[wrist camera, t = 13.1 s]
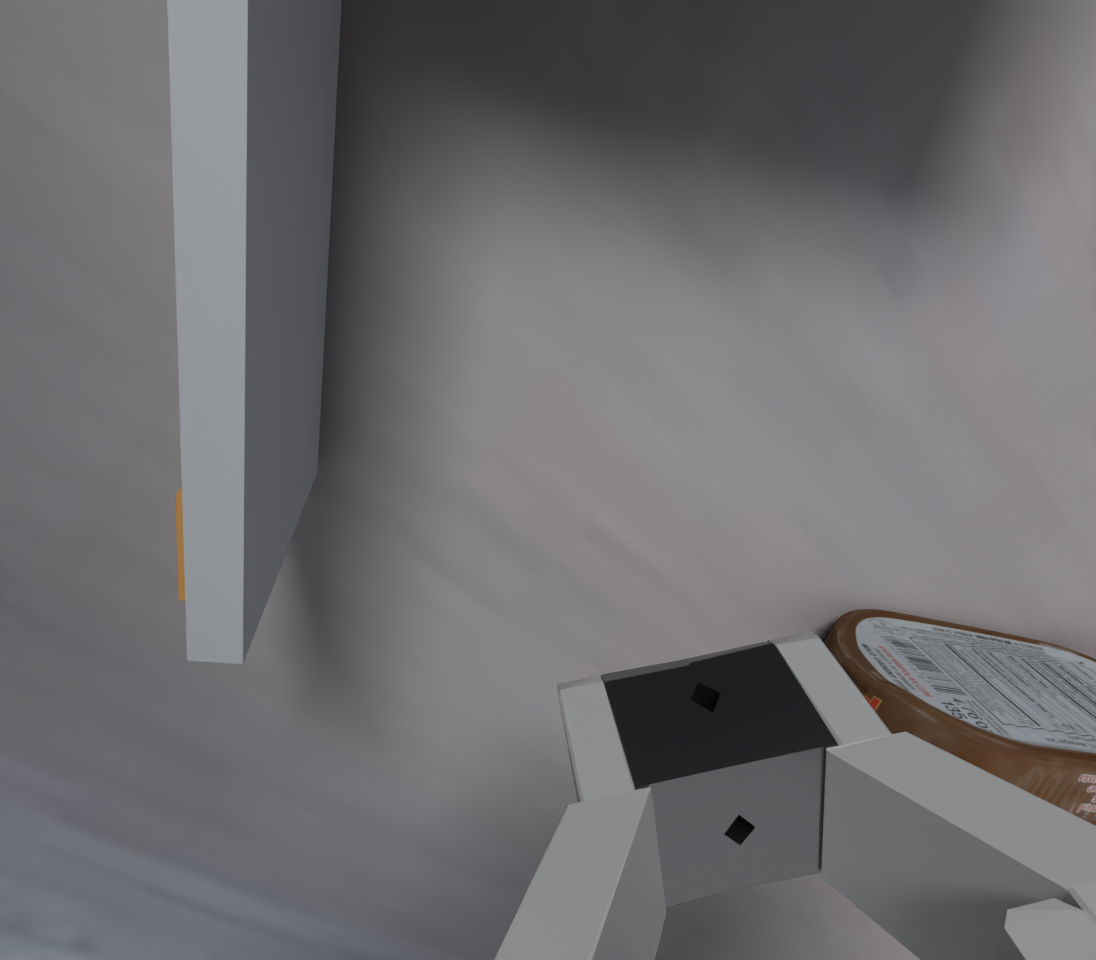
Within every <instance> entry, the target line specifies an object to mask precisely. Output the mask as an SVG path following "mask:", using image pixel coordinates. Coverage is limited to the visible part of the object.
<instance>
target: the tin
mask: <svg viewBox="0 0 1096 960" xmlns="http://www.w3.org/2000/svg"><path fill="white" fill-rule="evenodd" d="M824 644H825V646H826V647H827V648H828V650H829V651H830V652H831V653H832V655H833V656H834V657H835V659H836V660H837V661H838V663H839V664H840V665H841V667H842V668H843V669H844V671H845V672H846V673H847V675H848V676H849V677H850V679H851V680H852V681H853V683H854V684H855V685H856V687H857V688H858V689H859V691H860V692H861V693H862V695H863V696H864V697H865V699H866V700H867V701H868V703H869V704H870V705H871V707H872V708H873V709H874V711H875V712H876V713H877V715H878V716H879V717H880V719H881V720H882V721H883V723H884V724H885V725H886V727H887V728H888V729H889V731H890V732H891V733H892V734H896V733H901V732H908V733H910V734H912V735H914V736H916V737H918V738H920V739H922V740H924V741H926V742H928V743H930V744H932V745H934V746H936V747H938V748H940V749H942V750H944V751H946V752H948V753H950V754H952V755H954V756H956V757H958V758H960V759H962V760H964V761H966V762H968V763H970V764H972V765H974V766H976V767H978V768H980V769H982V770H984V771H986V772H988V773H990V774H992V775H994V776H996V777H998V778H1000V779H1002V780H1004V781H1007V782H1009V783H1011V784H1013V785H1015V786H1017V787H1019V788H1021V789H1023V790H1025V791H1027V792H1029V793H1031V794H1033V795H1035V796H1037V797H1039V798H1041V799H1043V800H1045V801H1047V802H1049V803H1051V804H1053V805H1055V806H1057V807H1059V808H1061V809H1063V810H1065V811H1067V812H1069V813H1071V814H1073V815H1075V816H1077V817H1079V818H1081V819H1083V820H1085V821H1087V822H1089V823H1091V824H1093V825H1095V826H1096V659H1094V658H1092V657H1089V656H1086V655H1084V654H1081V653H1078V652H1076V651H1073V650H1070V649H1067V648H1064V647H1061V646H1058V645H1054V644H1051V643H1047V642H1042V641H1038V640H1032V639H1028V638H1024V637H1019V636H1014V635H1008V634H1003V633H999V632H994V631H989V630H984V629H979V628H974V627H969V626H964V625H959V624H954V623H949V622H943V621H938V620H933V619H928V618H923V617H917V616H912V615H906V614H901V613H896V612H890V611H883V610H871V609H865V610H855V611H851V612H848V613H846V614H844V615H843V616H841V617H840V618H839V619H838V620H837V621H836V623H835V624H834V626H833V627H832V629H831V631H830V633H829V634H828V636H827V639H826V641H825V643H824Z"/></svg>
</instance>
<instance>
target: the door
mask: <svg viewBox="0 0 1096 960" xmlns="http://www.w3.org/2000/svg"><path fill="white" fill-rule="evenodd" d="M341 3H342V0H167V5H168V38H169V72H170V105H171V139H172V172H173V206H174V239H175V273H176V306H177V340H178V373H179V407H180V440H181V474H182V487H181V488H180V490H179V491H178V492H177V494H176V495H175V503H176V532H177V562H178V591H179V600H181V601H185V608H186V641H187V661H200V662H218V663H236V664H243V662H244V660H245V657H246V654H247V652H248V649H249V647H250V644H251V642H252V639H253V637H254V634H255V631H256V629H257V626H258V624H259V621H260V619H261V616H262V613H263V611H264V608H265V606H266V603H267V601H268V598H269V596H270V593H271V590H272V588H273V585H274V583H275V580H276V578H277V575H278V572H279V570H280V567H281V565H282V562H283V560H284V557H285V555H286V552H287V549H288V547H289V544H290V542H291V539H292V537H293V534H294V531H295V529H296V526H297V524H298V521H299V519H300V516H301V514H302V511H303V508H304V506H305V503H306V501H307V498H308V496H309V493H310V490H311V488H312V485H313V483H314V480H315V478H316V475H317V473H318V454H319V434H320V414H321V395H322V375H323V356H324V336H325V316H326V297H327V277H328V258H329V238H330V218H331V199H332V179H333V160H334V140H335V120H336V101H337V81H338V62H339V42H340V22H341Z"/></svg>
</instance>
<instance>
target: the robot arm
mask: <svg viewBox="0 0 1096 960" xmlns="http://www.w3.org/2000/svg"><path fill="white" fill-rule="evenodd" d="M557 688H558V697H559V703H560V708H561V713H562V719H563V724H564V730H565V735H566V741H567V746H568V751H569V757H570V762H571V768H572V773H573V778H574V784H575V789H576V795H577V800H578V803H573V804H569V805H566V808H565V810H564V812H563V814H562V816H561V818H560V820H559V822H558V825H557V827H556V829H555V831H554V833H553V835H552V837H551V840H550V842H549V844H548V846H547V848H546V850H545V852H544V854H543V857H542V859H541V861H540V863H539V865H538V867H537V869H536V871H535V874H534V876H533V878H532V880H531V882H530V884H529V886H528V888H527V891H526V893H525V895H524V897H523V899H522V901H521V903H520V906H519V908H518V910H517V912H516V914H515V916H514V918H513V920H512V923H511V925H510V927H509V929H508V931H507V933H506V935H505V937H504V940H503V942H502V944H501V946H500V948H499V950H498V952H497V954H496V957H495V959H494V960H655V958H656V954H657V950H658V946H659V942H660V938H661V933H662V929H663V925H664V921H665V917H666V907H670V906H674V905H678V904H682V903H685V902H689V901H693V900H697V899H701V898H705V897H709V896H713V895H716V894H720V893H724V892H728V891H732V890H736V889H740V888H744V887H750V886H755V885H760V884H765V883H770V882H775V881H780V880H785V879H790V878H796V877H801V876H806V875H811V874H816V873H821V877H822V878H823V879H824V880H826V881H827V882H828V883H829V884H830V885H832V886H833V887H834V888H835V889H836V890H838V891H839V892H840V893H841V894H842V895H844V896H845V897H846V898H847V899H848V900H850V901H851V902H852V903H853V904H854V905H856V906H857V907H858V908H859V909H860V910H862V911H863V912H864V913H865V914H866V915H868V916H869V917H870V918H871V919H872V920H874V921H875V922H876V923H877V924H878V925H880V926H881V927H882V928H883V929H884V930H886V931H887V932H888V933H889V934H890V935H892V936H893V937H894V938H895V939H896V940H898V941H899V942H900V943H901V944H902V945H904V946H905V947H906V948H907V949H908V950H910V951H911V952H912V953H913V954H914V955H916V956H917V957H918V958H919V959H920V960H1096V826H1095V825H1093V824H1091V823H1089V822H1087V821H1085V820H1083V819H1081V818H1079V817H1077V816H1075V815H1073V814H1071V813H1069V812H1067V811H1065V810H1063V809H1061V808H1059V807H1057V806H1055V805H1053V804H1051V803H1049V802H1047V801H1045V800H1043V799H1041V798H1039V797H1037V796H1035V795H1033V794H1031V793H1029V792H1027V791H1025V790H1023V789H1021V788H1019V787H1017V786H1015V785H1013V784H1011V783H1009V782H1007V781H1004V780H1002V779H1000V778H998V777H996V776H994V775H992V774H990V773H988V772H986V771H984V770H982V769H980V768H978V767H976V766H974V765H972V764H970V763H968V762H966V761H964V760H962V759H960V758H958V757H956V756H954V755H952V754H950V753H948V752H946V751H944V750H942V749H940V748H938V747H936V746H934V745H932V744H930V743H928V742H926V741H924V740H922V739H920V738H918V737H916V736H914V735H912V734H910V733H908V732H901V733H896V734H892V733H891V732H890V731H889V729H888V728H887V727H886V725H885V724H884V723H883V721H882V720H881V719H880V717H879V716H878V715H877V713H876V712H875V711H874V709H873V708H872V707H871V705H870V704H869V703H868V701H867V700H866V699H865V697H864V696H863V695H862V693H861V692H860V691H859V689H858V688H857V687H856V685H855V684H854V683H853V681H852V680H851V679H850V677H849V676H848V675H847V673H846V672H845V671H844V669H843V668H842V667H841V665H840V664H839V663H838V661H837V660H836V659H835V657H834V656H833V655H832V653H831V652H830V651H829V650H828V648H827V647H826V646H825V644H824V643H823V642H822V640H821V639H820V638H819V636H818V635H816V634H814V633H812V632H811V631H808V632H803V633H799V634H795V635H790V636H786V637H781V638H777V639H772V640H768V642H761V643H757V644H752V645H747V646H743V647H738V648H734V649H729V650H724V651H720V652H715V653H711V654H706V655H701V656H697V657H692V658H687V659H683V660H678V661H673V662H667V663H662V664H657V665H651V666H646V667H640V668H635V669H629V670H624V671H618V672H613V673H607V674H602V675H601V678H600V676H597V677H591V678H585V679H580V680H574V681H569V682H563V683H558V684H557Z"/></svg>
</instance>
